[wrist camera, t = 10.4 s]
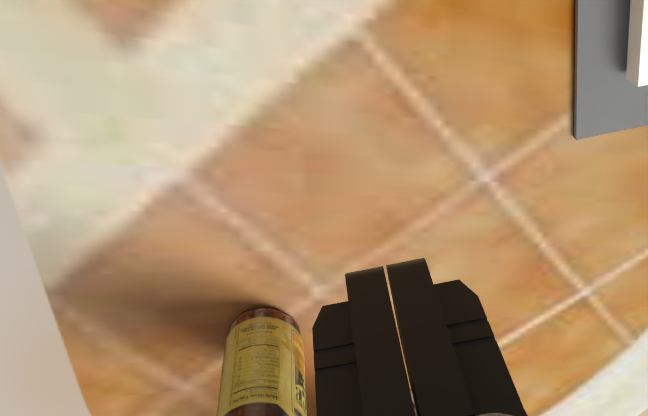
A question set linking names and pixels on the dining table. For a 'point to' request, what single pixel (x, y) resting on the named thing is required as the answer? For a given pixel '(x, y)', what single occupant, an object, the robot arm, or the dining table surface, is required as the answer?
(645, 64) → the tile
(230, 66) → the dining table surface
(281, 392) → the sauce bottle
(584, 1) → the mat
